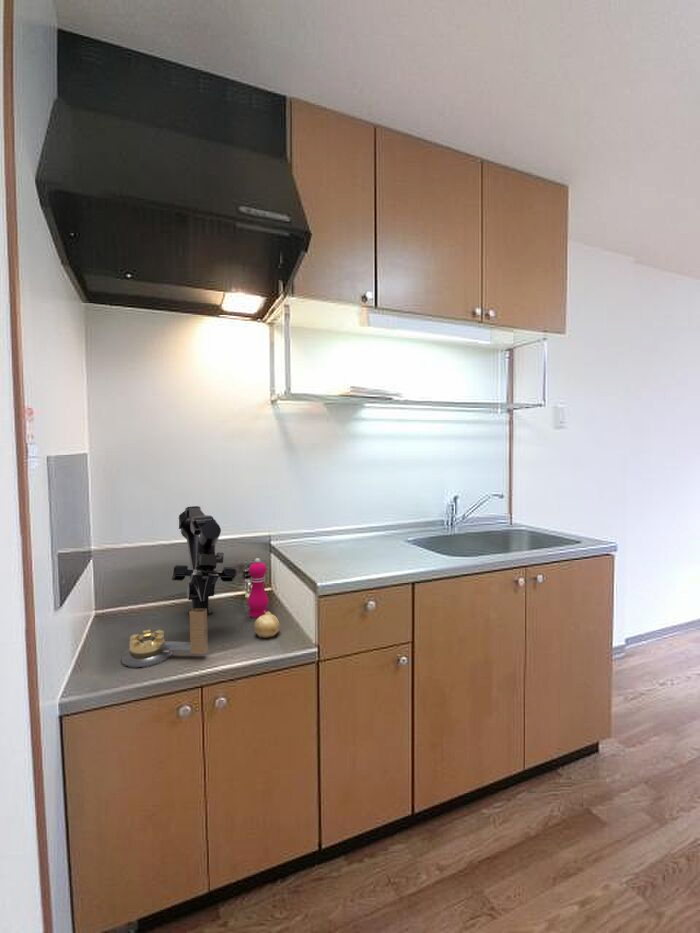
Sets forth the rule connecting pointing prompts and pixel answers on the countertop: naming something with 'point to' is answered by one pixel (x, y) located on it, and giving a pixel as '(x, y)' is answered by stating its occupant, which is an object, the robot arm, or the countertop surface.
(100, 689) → the countertop surface
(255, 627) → the onion
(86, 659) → the countertop surface
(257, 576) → the pepper mill
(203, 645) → the crank handle
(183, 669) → the countertop surface
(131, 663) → the flange
